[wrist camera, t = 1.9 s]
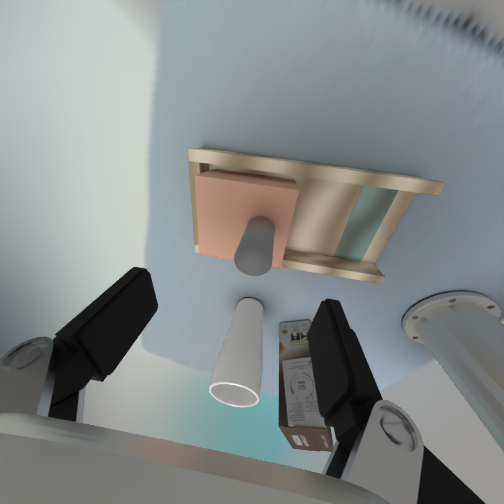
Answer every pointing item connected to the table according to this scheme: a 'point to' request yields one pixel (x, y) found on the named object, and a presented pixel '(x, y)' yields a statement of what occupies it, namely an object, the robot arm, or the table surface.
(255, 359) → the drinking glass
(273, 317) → the table surface
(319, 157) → the table surface
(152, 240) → the table surface
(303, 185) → the bay
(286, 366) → the coffee box
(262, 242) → the salmon block with knob
